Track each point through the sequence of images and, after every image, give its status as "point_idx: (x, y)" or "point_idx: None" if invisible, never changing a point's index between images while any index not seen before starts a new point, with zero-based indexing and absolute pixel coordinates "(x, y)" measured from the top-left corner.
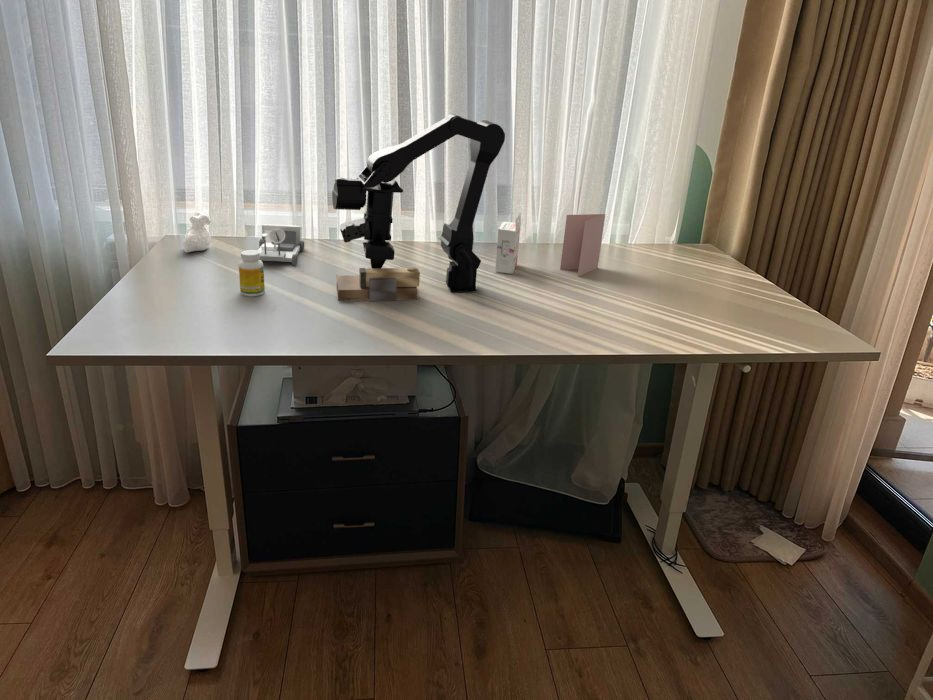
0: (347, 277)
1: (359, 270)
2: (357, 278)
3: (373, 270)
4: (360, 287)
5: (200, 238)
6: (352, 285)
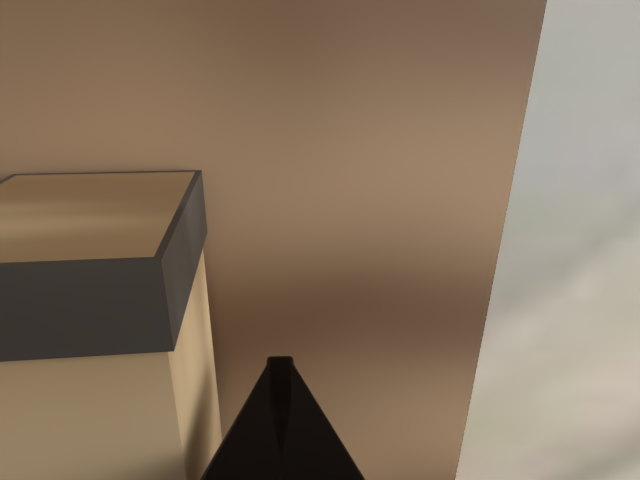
0: (466, 24)
1: (161, 239)
2: (411, 155)
3: (63, 469)
4: (22, 174)
5: None
6: (138, 71)
